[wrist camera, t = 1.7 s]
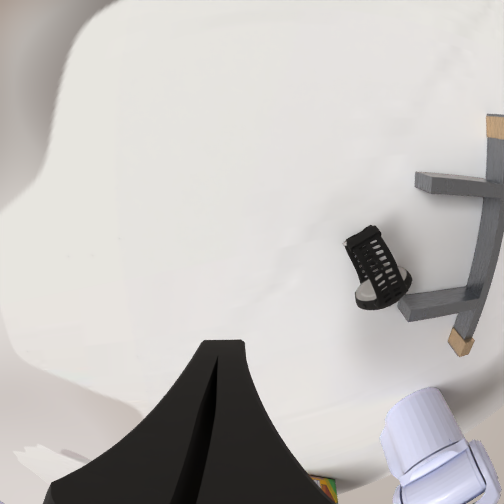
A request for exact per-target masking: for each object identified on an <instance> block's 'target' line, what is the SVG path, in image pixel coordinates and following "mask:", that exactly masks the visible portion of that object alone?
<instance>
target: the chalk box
mask: <svg viewBox="0 0 504 504" xmlns="http://www.w3.org/2000/svg"><path fill="white" fill-rule="evenodd" d="M309 476H310V475H309ZM310 477H311V478H312V479H313V480H314V482H315V483H316V484H317V485H318V486H319V487H320V488H321V489H322V490H323V491H324V492H325V493H326V494H327V495H328V496H329V497H330V498H331V499H332V500H333V501H334V502H335V503H336V504H338V499H337V492H336V484H335V480H334V479H327V478H321V477H315V476H310Z"/></svg>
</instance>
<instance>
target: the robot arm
mask: <svg viewBox="0 0 504 504" xmlns="http://www.w3.org/2000/svg"><path fill="white" fill-rule="evenodd" d="M379 438H380V441H381V445H382V448H383V451H384V454H385V457H386V461H387V464H388V467H389V470H390V472H391V473H392V475H393V476H394V477H396V478H397V479H399V480H400V485H398V486H397V487H396V490H395V493H394V495H393V504H466V503H468V502H469V501H471V500H473V499H474V498H476V497H477V496H479V495H480V494H482V493H483V492H485V493H484V495H483V496H482V498H481V499H479V500H478V501H476V502H475V503H473V504H497V502H498V501H499V499H500V496H501V494H500V492H501V490H502V489H501V486H500V484H499V481H498V476H497V473H496V471H495V469H494V466H493V464H492V462H491V460H490V458H489V456H488V454H487V452H486V450H485V448H484V446H483V444H482V443H481V441H478V440H477V441H476V440H472V441H471V442H470V444H469V443H468V442H467V441H466V439H465V437H464V435H463V433H462V431H461V429H460V427H459V425H458V423H457V421H456V419H455V417H454V416H453V414H452V412H451V410H450V408H449V406H448V404H447V403H446V401H445V399H444V397H443V395H442V394H441V392H440V390H439V389H438V388H435V387H428V388H424V389H421V390H418V391H416V392H413V393H412V394H410V395H408V396H406V397H405V398H403V399H402V400H400V401H399V402H398V403H396V404H395V405H394V406H393V407H392V408H391V409H390V411H389V412H388V413H387V415H386V418H385V427H384V429H383V431H382V433H381V435H380V437H379ZM0 504H4V503H3V502H1V501H0ZM43 504H336V503H335V502H334V501H333V500H332V499H331V498H330V497H329V496H328V495H327V494H326V493H325V492H324V491H323V490H322V489H321V488H320V487H319V486H318V485H317V484H316V483H315V482H314V480H313V479H312V478H311V477H310V476H309V475H308V474H307V472H306V471H305V470H304V469H303V467H302V466H301V465H300V463H299V462H298V461H297V459H296V458H295V457H294V456H293V454H292V453H291V452H290V450H289V449H288V447H287V446H286V444H285V443H284V441H283V440H282V438H281V437H280V435H279V434H278V432H277V430H276V429H275V427H274V425H273V423H272V422H271V420H270V418H269V416H268V414H267V412H266V410H265V408H264V406H263V404H262V402H261V400H260V398H259V395H258V393H257V391H256V388H255V386H254V383H253V380H252V378H251V375H250V372H249V368H248V365H247V361H246V352H245V342H244V341H242V340H204V341H203V342H202V343H201V344H200V346H199V348H198V349H197V351H196V352H195V354H194V356H193V357H192V359H191V360H190V362H189V363H188V365H187V366H186V368H185V369H184V371H183V372H182V374H181V375H180V376H179V378H178V379H177V381H176V382H175V383H174V385H173V386H172V387H171V389H170V390H169V391H168V392H167V394H166V395H165V396H164V397H163V398H162V400H161V401H160V402H159V403H158V404H157V406H156V407H155V408H154V409H153V410H152V411H151V412H150V413H149V414H148V415H147V416H146V417H145V418H144V419H143V420H142V421H141V422H140V424H138V425H137V426H136V427H135V428H134V429H133V430H132V431H131V432H130V433H128V434H127V435H126V436H125V437H124V438H123V439H122V440H120V441H119V442H118V443H117V444H115V445H114V446H113V447H112V448H110V449H109V450H107V451H106V452H104V453H103V454H102V455H100V456H99V457H97V458H96V459H94V460H93V461H91V462H90V463H88V464H87V465H85V466H83V467H82V468H80V469H78V470H76V471H74V472H72V473H70V474H68V475H66V476H64V477H62V478H60V479H58V480H56V481H54V482H52V483H51V485H50V487H49V489H48V491H47V494H46V496H45V499H44V502H43Z"/></svg>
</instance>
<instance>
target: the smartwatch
mask: <svg viewBox="0 0 504 504" xmlns="http://www.w3.org/2000/svg"><path fill="white" fill-rule="evenodd" d="M374 240H377V242H375V243H373V244H370V242H372V241H374ZM343 245H344V246H345V248H346V251H347V253H348V255H349V257H350V259H351V261H352V263H353V265H354V267H355V269H356V271H357V274H358V276H359V280H360V283H361V285H360V286H359V287H358V289H357V291H356V292H355V299H356V303H357V306H358V307H359V308H361V309H365V310H379V309H383V308H385V307H388V306H391V305H392V304H394V303H396V302H397V301H399V300H400V299H401V298H402V297H403V296H404V295H405V294H406V292H407V291H408V289H409V287H410V286H411V283H412V277H411V275H410V274H409V272H408V271H407V270H406V269H404V268H402V267H398V266H397V264H396V262H395V260H394V258H393V256H392V254H391V252H390V250H389V248H388V247H387V245H386V244H385V242H384V240H383V239H382V238H381V232H380V231H379V229H378V228H377V227H376V226H372V225H370V226H368V227H366V228H365V229H364V230H363V231H361V232H359V233H358V234H356V235H353V236H351V237H349V238H348V239H346V241H345V242H344V243H343ZM377 245H380V246H381V247H379V248H376V249H373V248H372V247H374V246H377ZM363 246H364V247H363ZM367 250H368V251H367ZM379 250H383V251H384V253H381V254H379V255H376V252H377V251H379ZM353 252H354V253H353ZM366 254H367V255H366ZM355 255H356V256H357V257H356V258H355V257H354V256H355ZM365 255H366V256H365ZM382 256H386V258H387V259H385V260H383V261H380V260H379V258H380V257H382ZM371 258H372V259H371ZM368 259H371V260H370V261H368V262H367V260H368ZM357 260H359V261H360V262H357ZM387 262H390V265H388V266H386V267H384V266H383V264H384V263H387ZM359 265H362V267H361V268H360V267H359ZM370 265H374V266H373V267H372V268H371V267H370ZM375 269H378V271H376V272H373V270H375ZM363 270H364V271H365V273H362V271H363ZM365 275H367V276H368V277H367V278H366V277H365Z"/></svg>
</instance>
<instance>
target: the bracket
mask: <svg viewBox="0 0 504 504" xmlns="http://www.w3.org/2000/svg"><path fill="white" fill-rule="evenodd" d="M486 123H487V169H486V179H484V178H476V177H468V176H459V175H450V174H439V173H427V172H416V173H415V187H416V188H419V189H421V190H424V191H426V192H428V193H431V194H449V195H466V196H479V197H484V202H483V210H482V217H481V223H480V229H479V235H478V240H477V245H476V250H475V255H474V259H473V263H472V268H471V272H470V276H469V279H468V283H467V286H466V287H460V288H453V289H447V290H440V291H433V292H425V293H418V294H410V295H404V296H403V297H402V298H401V299H400V300H399V302H398V309H399V310H400V311H401V313H402V314H403V316H404V317H405V318H406V320H407V321H408V322H412V321H418V320H424V319H429V318H435V317H440V316H445V315H450V314H455V313H458V316H457V319H456V322H455V325H454V327H453V328H452V331H451V334H450V336H449V339H448V343H449V345H450V346H451V347H452V349H453V350H454V352H455V353H456V354H457V356H459V357H461V356H464V355H468V354H469V352H470V350H471V348H472V345H473V343H474V341H475V340H474V339H473V338H472V336H473V334H474V331H475V329H476V326H477V324H478V321H479V318H480V316H481V313H482V310H483V307H484V304H485V301H486V298H487V295H488V292H489V289H490V286H491V282H492V279H493V275H494V271H495V268H496V264H497V260H498V256H499V251H500V247H501V242H502V238H503V232H504V115H499V114H487V116H486Z"/></svg>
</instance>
